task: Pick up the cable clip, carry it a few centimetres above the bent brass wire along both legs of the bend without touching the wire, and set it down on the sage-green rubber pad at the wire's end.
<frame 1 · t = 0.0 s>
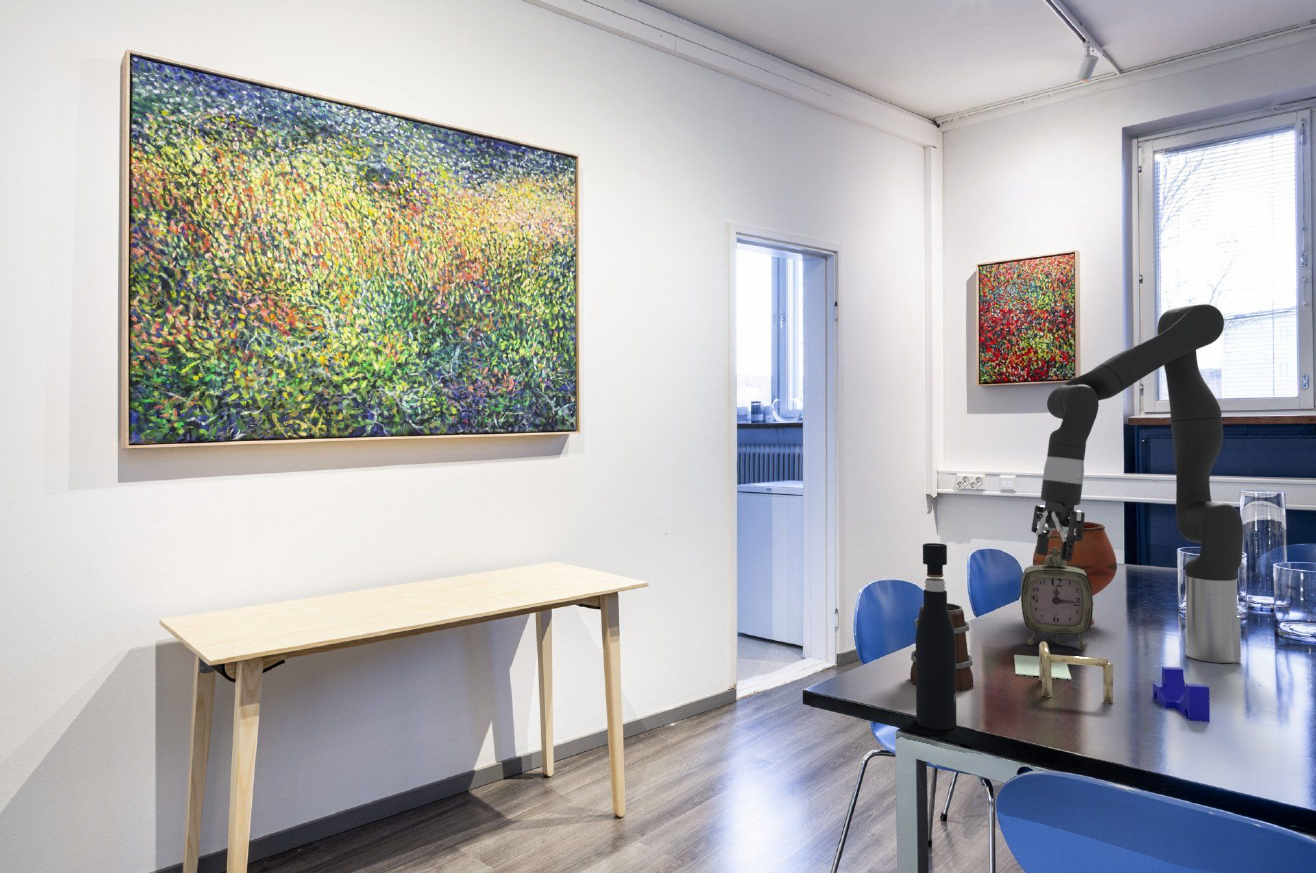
hand: (1053, 557, 174), 22 cm above the table, tool pointing down, fingers open, 8 cm apart
mug: (944, 681, 164), on the table
wire track: (1080, 691, 156), on the table
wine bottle: (936, 724, 140), on the table
terracotta pot: (1074, 622, 213), on the table
cable clip: (1180, 711, 146), on the table
tabletop clock: (1055, 645, 190), on the table
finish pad: (1041, 667, 172), on the table
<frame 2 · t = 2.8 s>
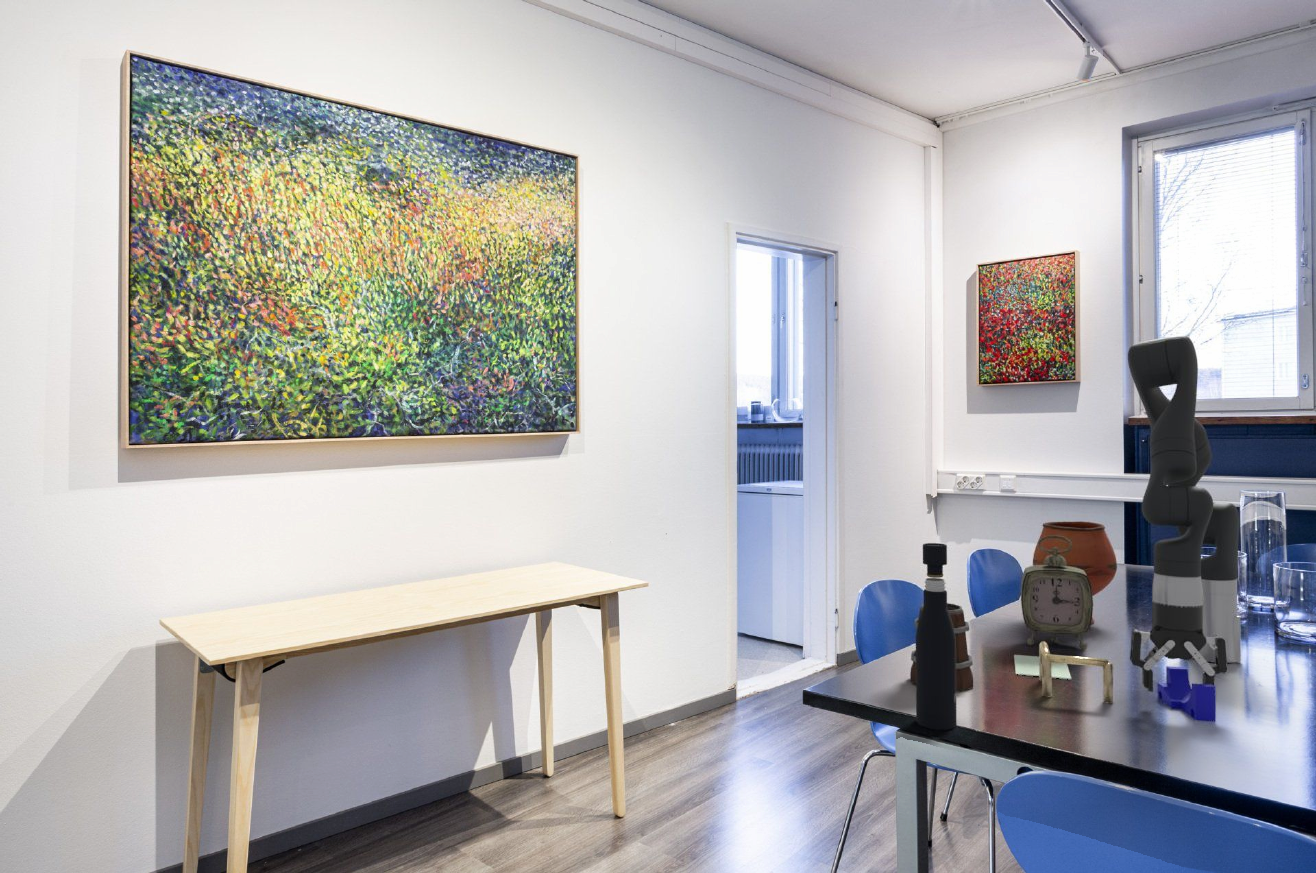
hand: (1177, 693, 146), 3 cm above the table, tool pointing down, fingers open, 8 cm apart
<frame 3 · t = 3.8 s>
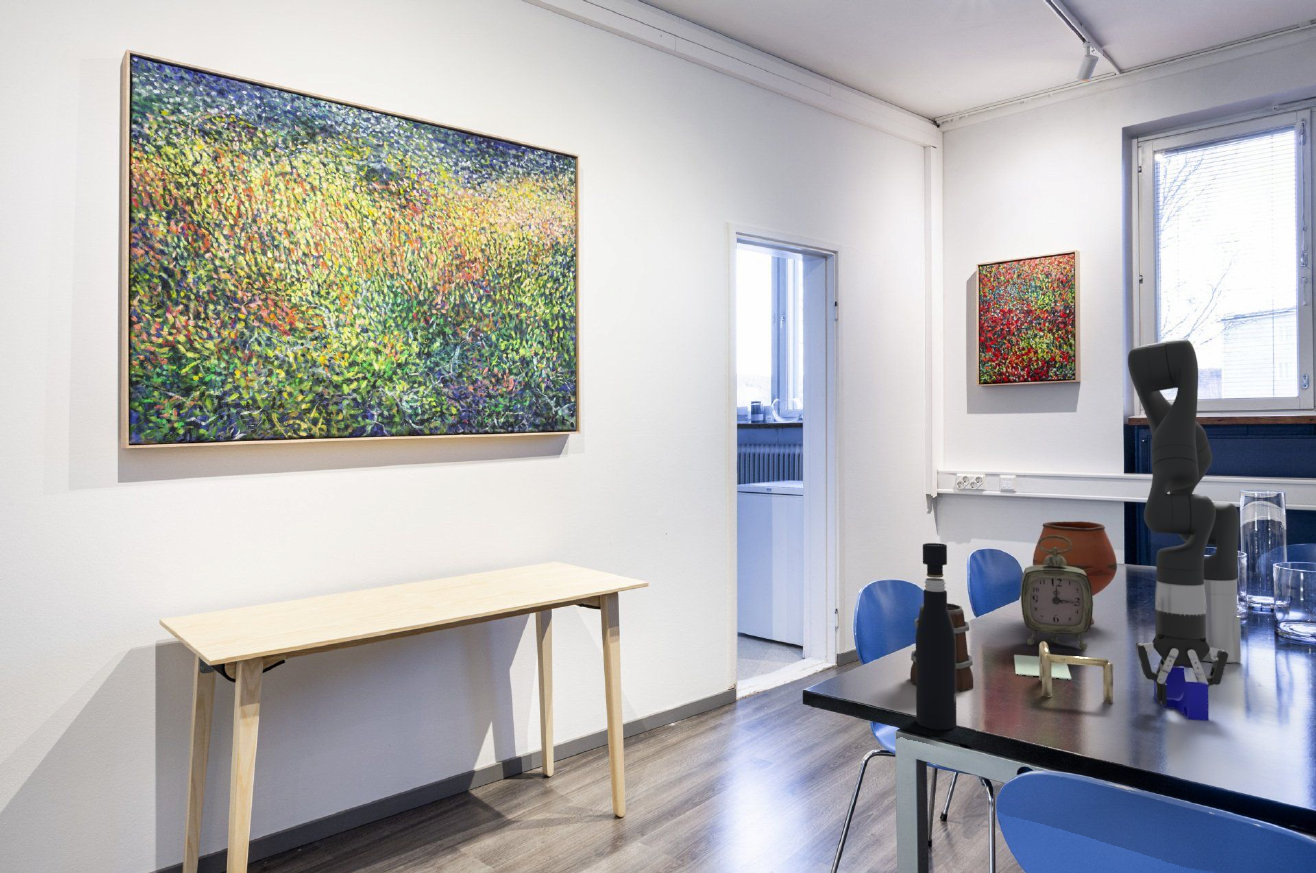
hand: (1181, 705, 146), 1 cm above the table, tool pointing down, fingers closed on cable clip, 5 cm apart
cable clip: (1180, 709, 146), on the table, touching gripper
everything else where it was.
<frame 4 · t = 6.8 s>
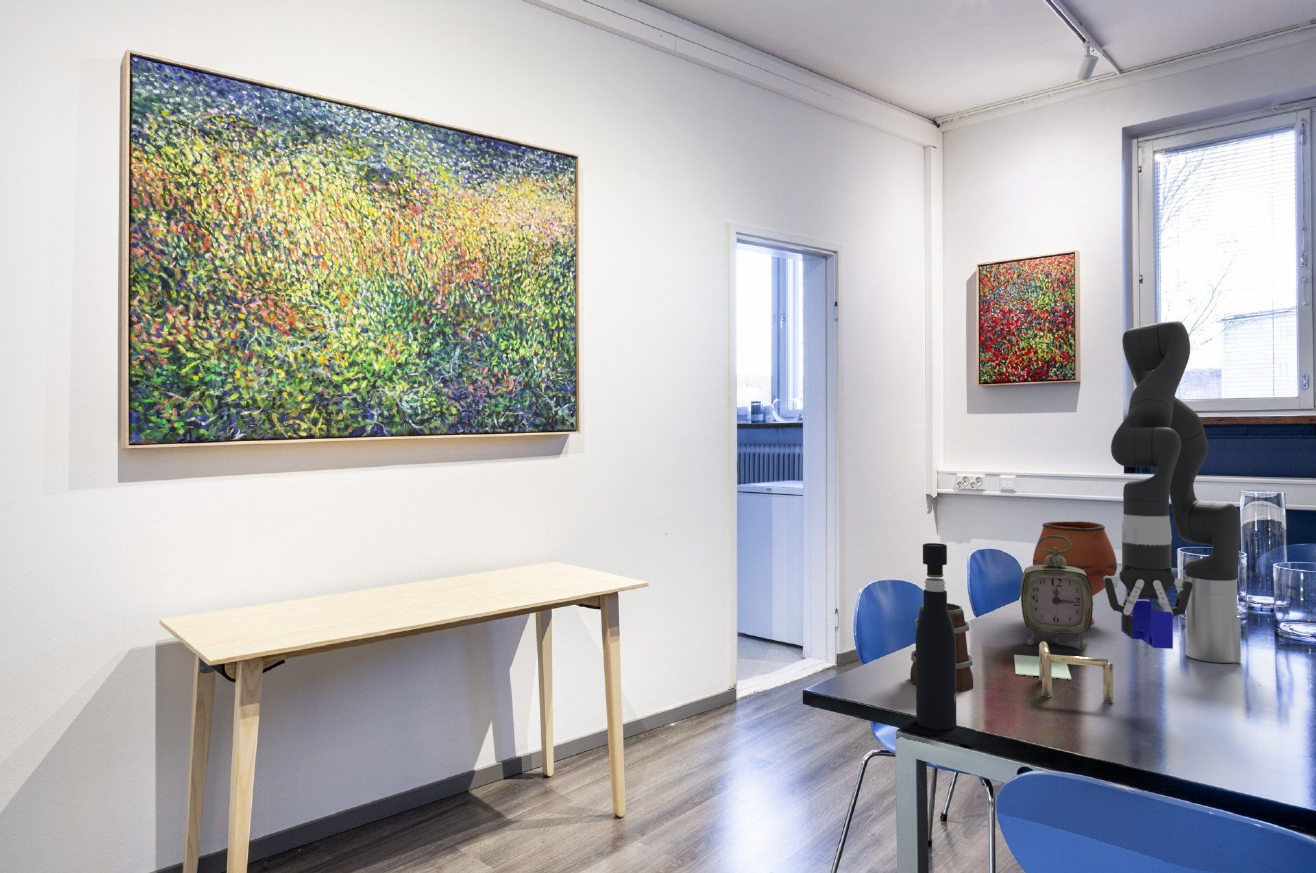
hand: (1146, 636, 148), 12 cm above the table, tool pointing down, fingers closed on cable clip, 5 cm apart
cable clip: (1146, 640, 148), point 11 cm above the table, touching gripper
everything else where it was.
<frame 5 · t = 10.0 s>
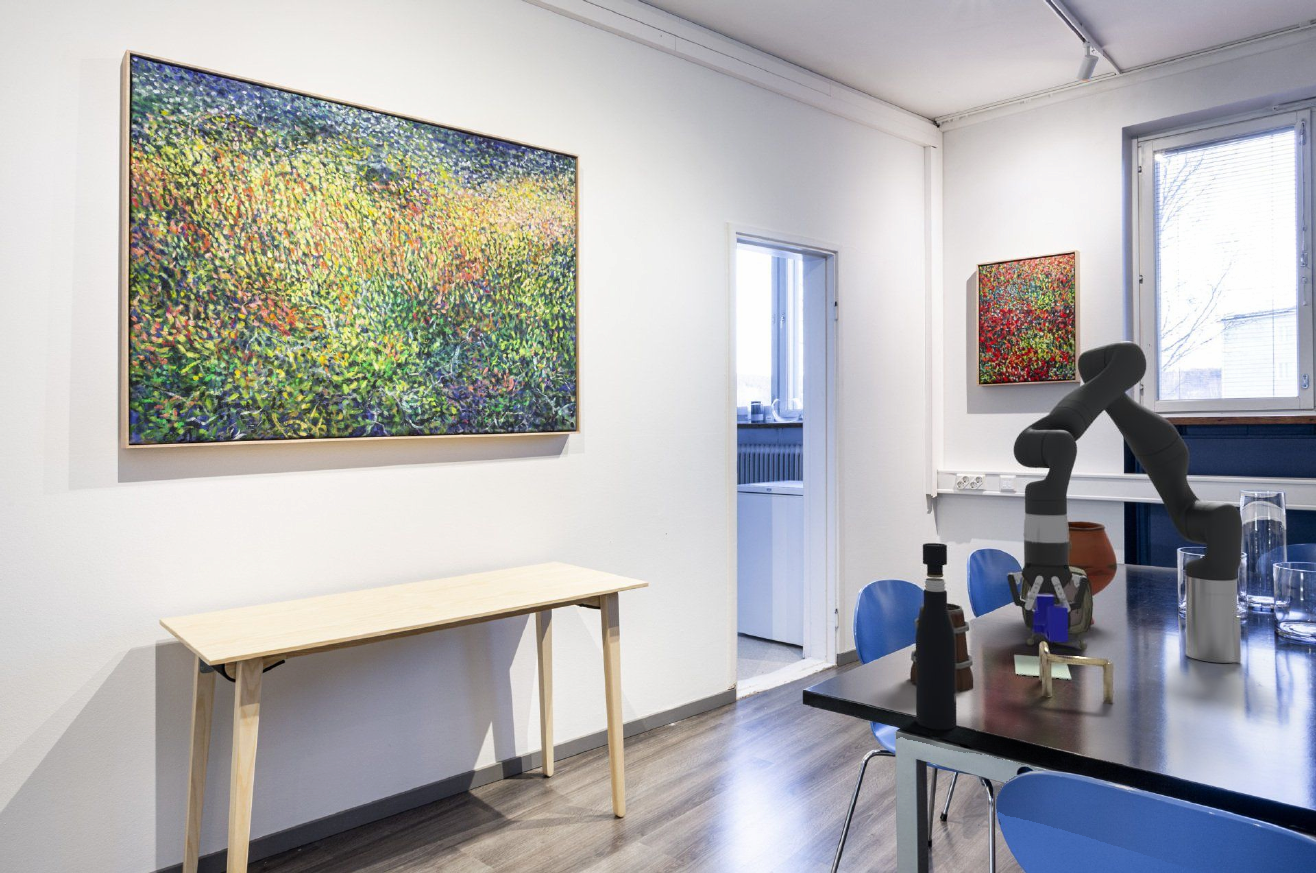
hand: (1047, 630, 154), 12 cm above the table, tool pointing down, fingers closed on cable clip, 5 cm apart
cable clip: (1046, 634, 155), point 11 cm above the table, touching gripper
everything else where it was.
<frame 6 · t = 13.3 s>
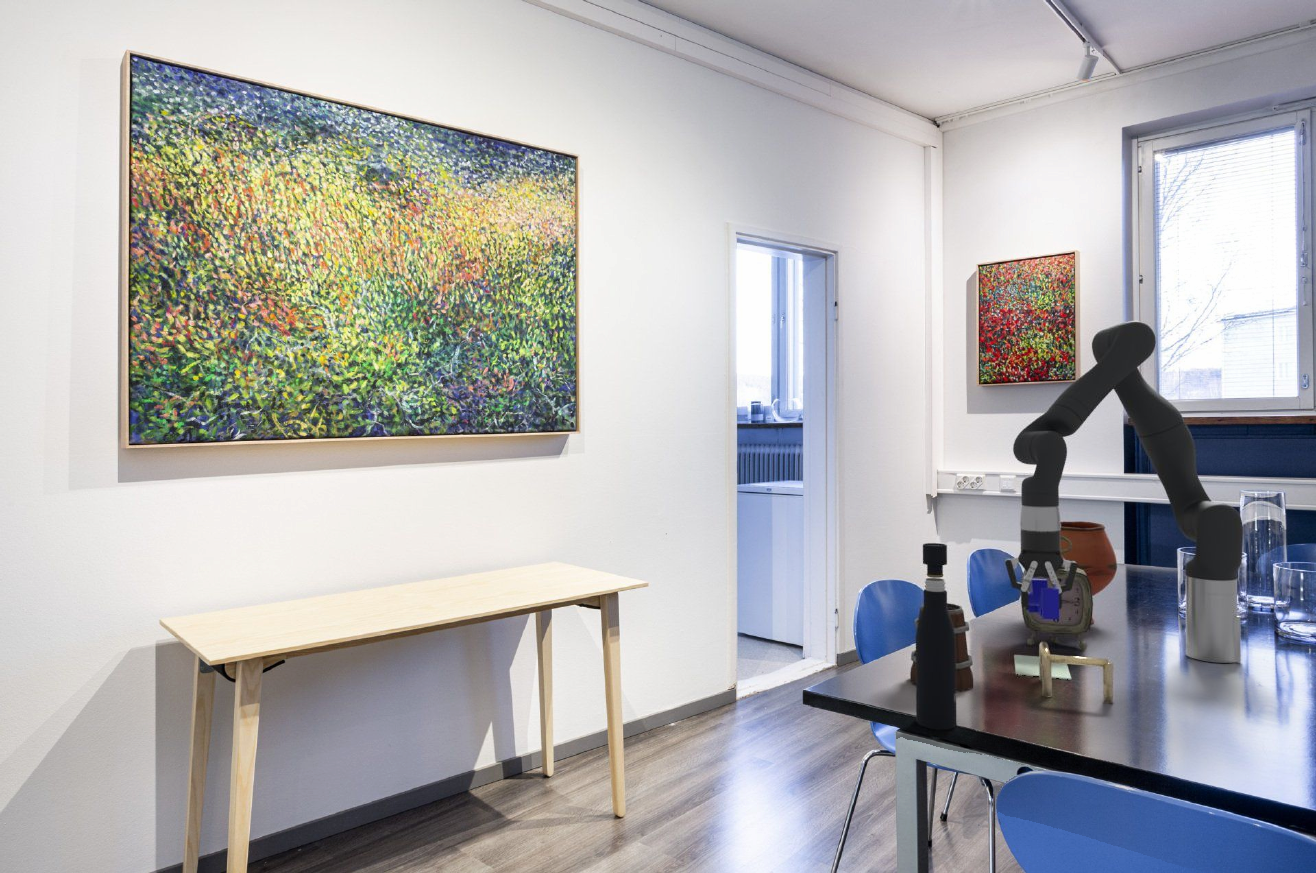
hand: (1041, 609, 172), 12 cm above the table, tool pointing down, fingers closed on cable clip, 5 cm apart
cable clip: (1040, 613, 173), point 11 cm above the table, touching gripper
everything else where it was.
when the fingers open (2 cm above the table, at t = 16.3 s): cable clip stays where it is, resting on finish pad.
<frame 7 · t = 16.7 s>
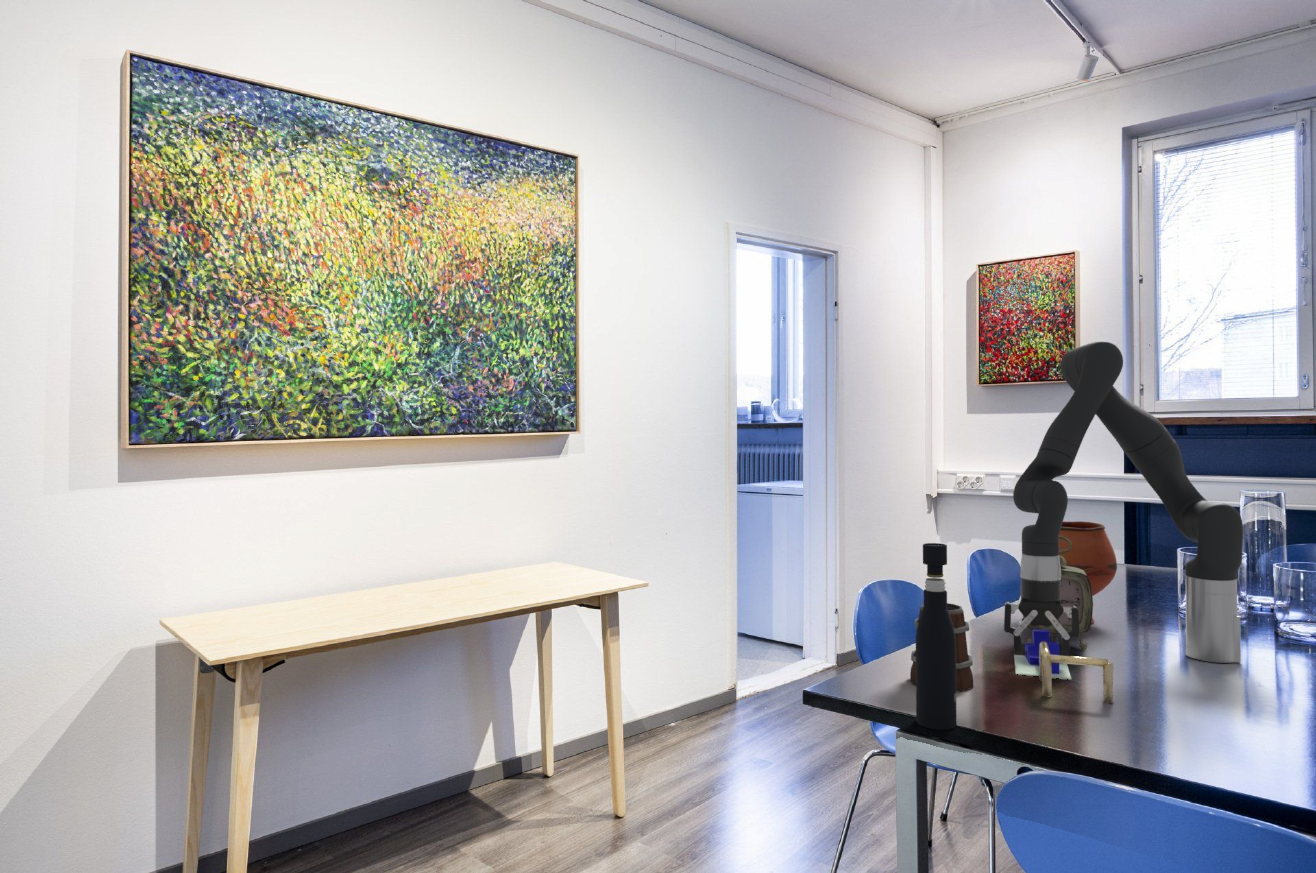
hand: (1041, 655, 172), 3 cm above the table, tool pointing down, fingers open, 8 cm apart
cable clip: (1041, 666, 173), resting on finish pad
everything else where it was.
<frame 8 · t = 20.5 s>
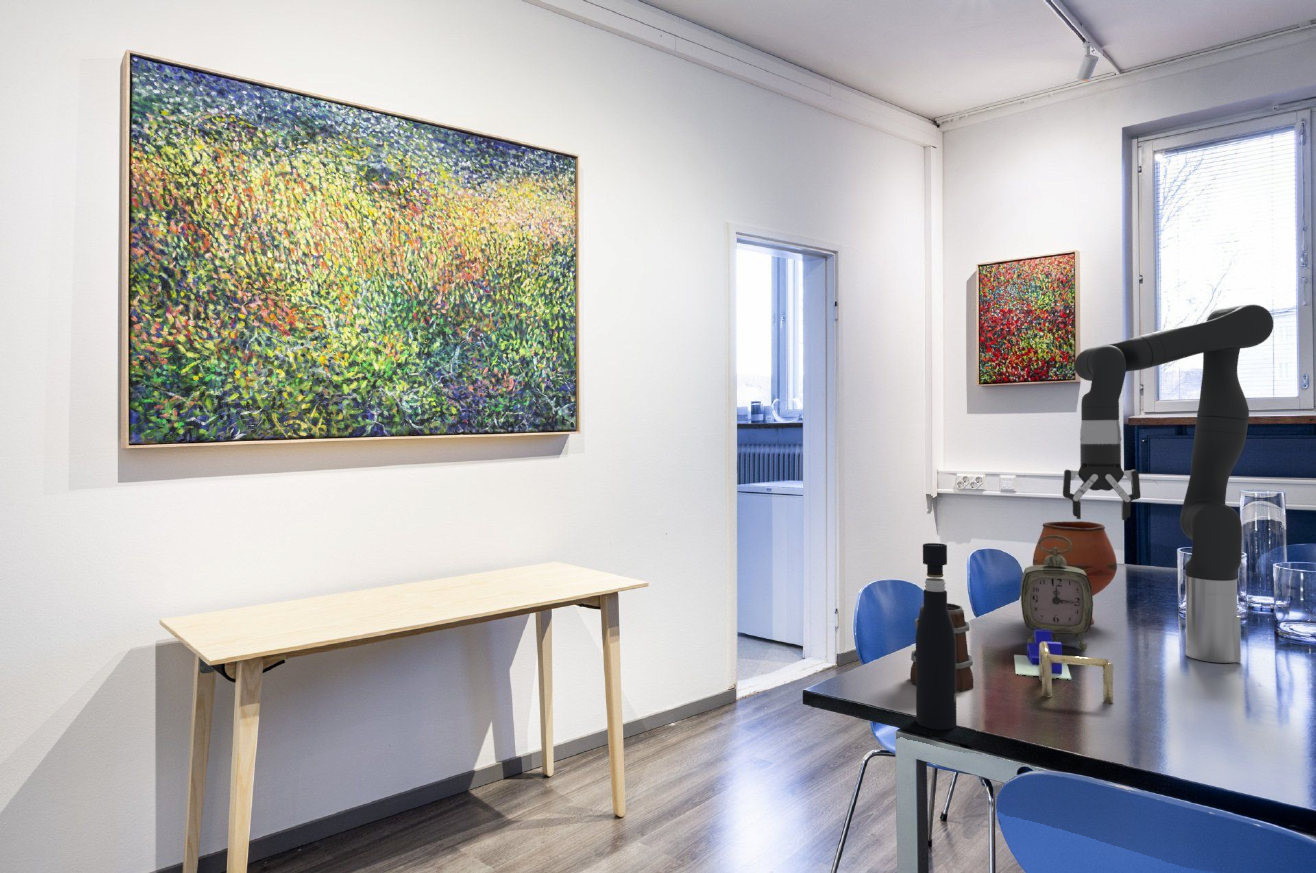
hand: (1100, 519, 175), 30 cm above the table, tool pointing down, fingers open, 8 cm apart
nothing on the table moved.
at the end: cable clip inside the target area (0.9 cm from its centre), resting on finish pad; cable clip touching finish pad; the gripper is holding nothing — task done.
